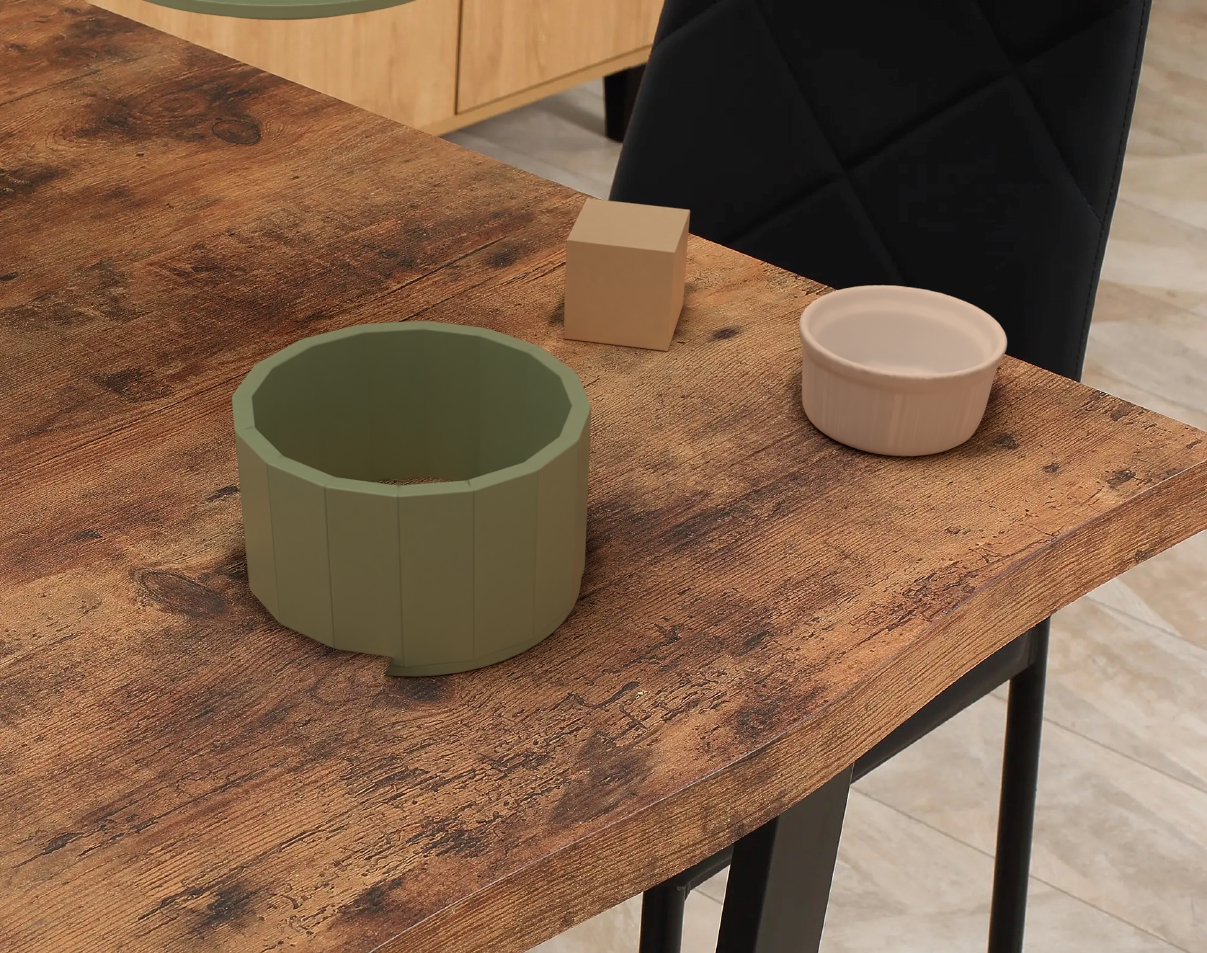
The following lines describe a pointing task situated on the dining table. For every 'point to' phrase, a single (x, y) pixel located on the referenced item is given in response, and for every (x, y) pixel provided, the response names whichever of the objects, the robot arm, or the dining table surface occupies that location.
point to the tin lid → (279, 7)
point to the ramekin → (897, 368)
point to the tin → (415, 492)
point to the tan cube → (625, 274)
